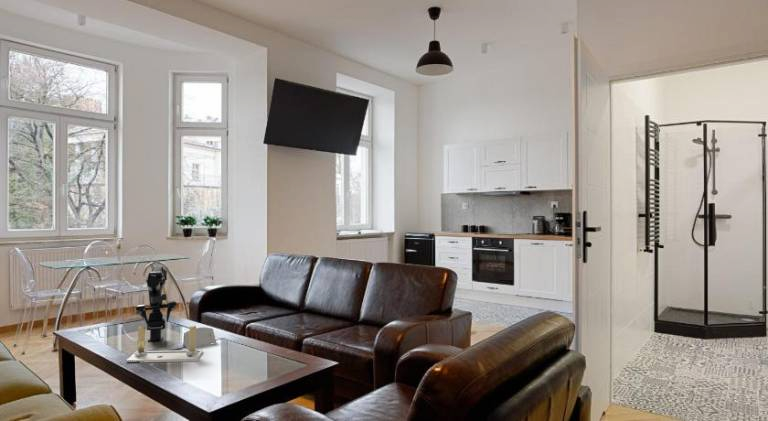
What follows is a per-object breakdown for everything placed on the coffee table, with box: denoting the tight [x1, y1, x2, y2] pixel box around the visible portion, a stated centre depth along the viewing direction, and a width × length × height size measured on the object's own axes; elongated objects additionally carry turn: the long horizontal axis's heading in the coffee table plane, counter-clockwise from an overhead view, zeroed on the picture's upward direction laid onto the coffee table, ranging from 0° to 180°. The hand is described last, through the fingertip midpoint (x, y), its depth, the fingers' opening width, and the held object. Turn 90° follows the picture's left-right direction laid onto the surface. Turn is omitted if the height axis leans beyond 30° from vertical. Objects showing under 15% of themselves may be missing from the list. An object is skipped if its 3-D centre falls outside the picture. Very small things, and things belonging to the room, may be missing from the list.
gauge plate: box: [126, 325, 204, 363], centre depth 230 cm, size 14×32×15 cm, turn 100°
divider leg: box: [133, 325, 148, 357], centre depth 227 cm, size 7×4×14 cm
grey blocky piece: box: [182, 326, 217, 349], centre depth 253 cm, size 17×5×10 cm, turn 129°
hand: (157, 323), depth 234 cm, fingers open, 9 cm apart
